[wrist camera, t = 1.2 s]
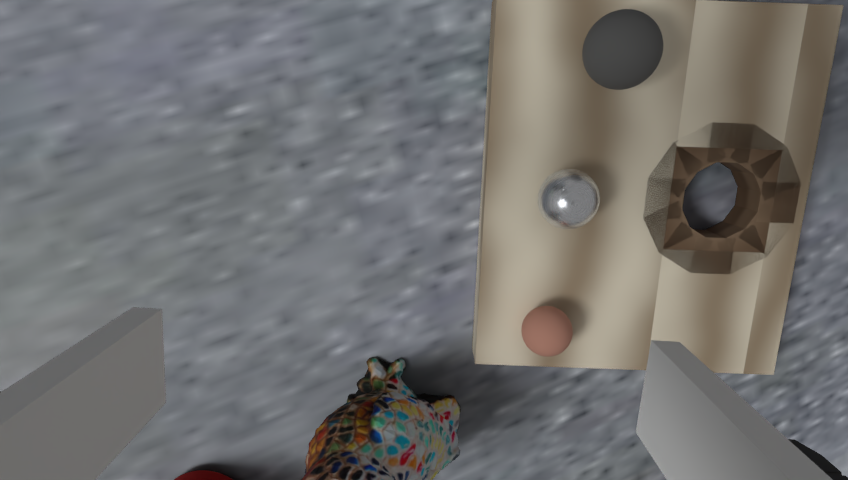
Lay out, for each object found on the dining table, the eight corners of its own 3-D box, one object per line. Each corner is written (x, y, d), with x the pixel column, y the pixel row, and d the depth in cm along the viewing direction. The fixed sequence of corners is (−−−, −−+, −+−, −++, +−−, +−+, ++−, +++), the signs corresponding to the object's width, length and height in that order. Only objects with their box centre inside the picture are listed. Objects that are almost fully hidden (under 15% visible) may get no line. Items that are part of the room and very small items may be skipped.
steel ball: (534, 165, 32) (546, 170, 29) (592, 167, 32) (611, 172, 29) (530, 222, 33) (541, 233, 29) (587, 224, 33) (604, 236, 29)
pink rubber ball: (519, 298, 34) (528, 315, 31) (567, 299, 34) (581, 317, 31) (516, 343, 34) (524, 364, 32) (563, 345, 34) (576, 366, 32)
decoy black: (577, 15, 30) (599, 0, 26) (649, 17, 30) (682, 3, 26) (570, 90, 31) (590, 86, 27) (640, 92, 31) (671, 89, 27)
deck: (472, 347, 37) (475, 363, 35) (492, 2, 32) (497, -7, 30) (751, 357, 37) (773, 374, 35) (812, 13, 32) (843, 5, 30)
